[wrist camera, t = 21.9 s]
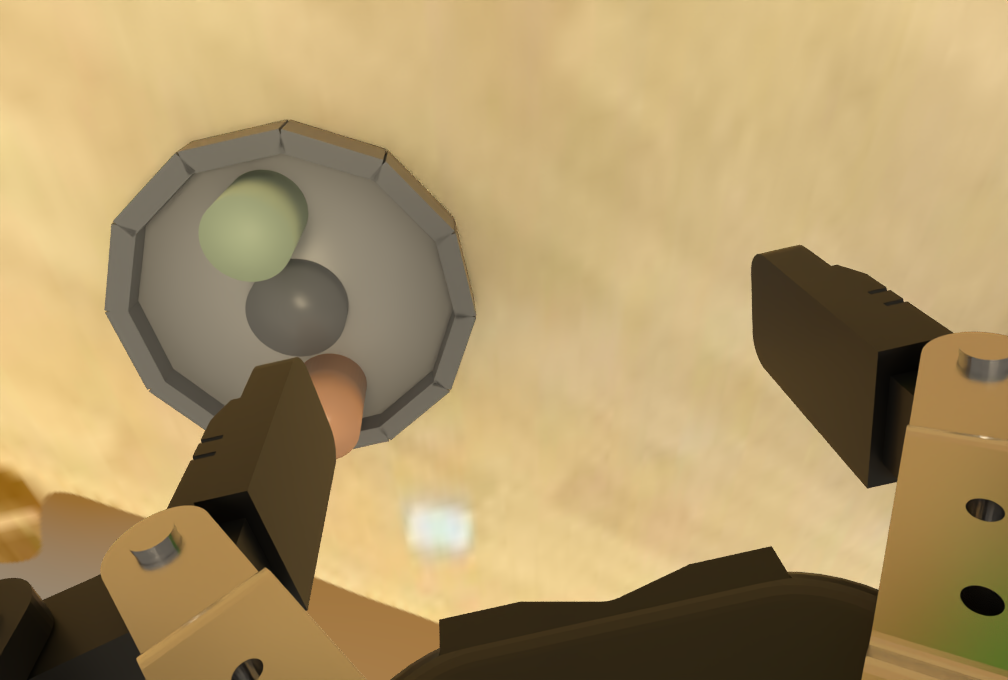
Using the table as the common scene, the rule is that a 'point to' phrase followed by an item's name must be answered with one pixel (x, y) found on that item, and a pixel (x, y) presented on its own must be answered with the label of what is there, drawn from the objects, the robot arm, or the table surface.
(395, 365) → the ring tray
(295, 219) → the pale green rounded cylinder
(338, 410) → the terracotta bead
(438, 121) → the table surface
